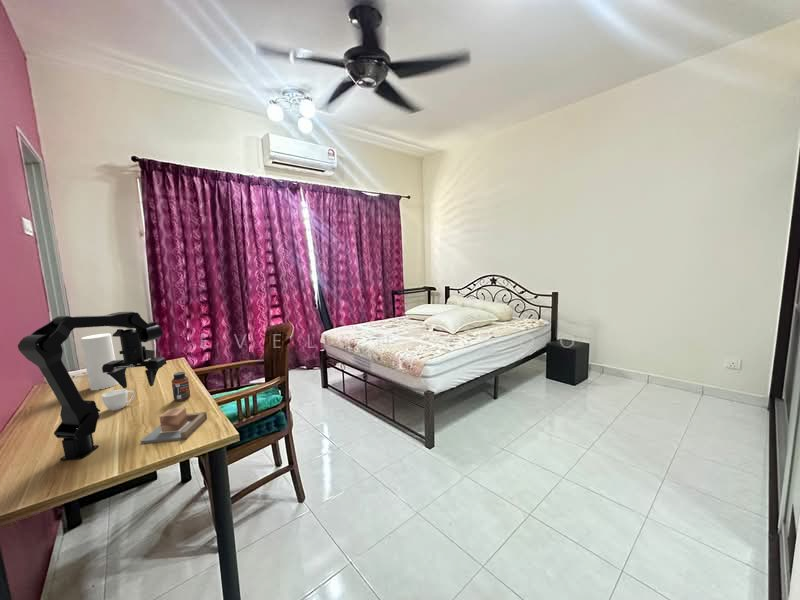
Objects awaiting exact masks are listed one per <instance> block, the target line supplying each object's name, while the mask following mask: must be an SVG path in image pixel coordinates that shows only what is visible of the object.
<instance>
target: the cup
mask: <svg viewBox="0 0 800 600" xmlns="http://www.w3.org/2000/svg"><path fill="white" fill-rule="evenodd" d="M129 394H131V397H130V399H129V400H128V398H129V397H128V396H129ZM135 396H136V394H135V391H134V390H127V388H119V389H113V390H110V391H107V392H105V393H102V395H101V398H102V402H103V405H104V406H105V407H106V408H107V409H109V411H112V412H113V411H114V410H115V411H119V410H122V409H123V408H124V407H125V405H127V404H129V403H130V402H132V401H133V400H134V399H135ZM121 408H122V409H121Z"/></svg>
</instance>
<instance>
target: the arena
mask: <svg viewBox="0 0 800 600" xmlns="http://www.w3.org/2000/svg"><path fill="white" fill-rule="evenodd" d="M186 414H187V421H188V423H186V424H185V425H184V426H183V427H182V428H181V429H180V430H178V431H166V432H162V429H161V424H160V425H159V426H157V428H155V429H154V430H153V431H151V432H150V433H149V434H148V435H146V436H145V437H143V438H142V439H141V440H140V444H147V443H157V442H160V443H161V442H171V441H183V440H184V441H185V440H187V439H188V438H189V437H190V436H191V435H192V434H193V433H194V432H195V431H196V430H197V429H199V427H200V426H201V425H202V424H203V423H204V422H206V420H207V419H208V414H207V411H201V412H194V413H193V412H192V413H191V412H190V413H186Z"/></svg>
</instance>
